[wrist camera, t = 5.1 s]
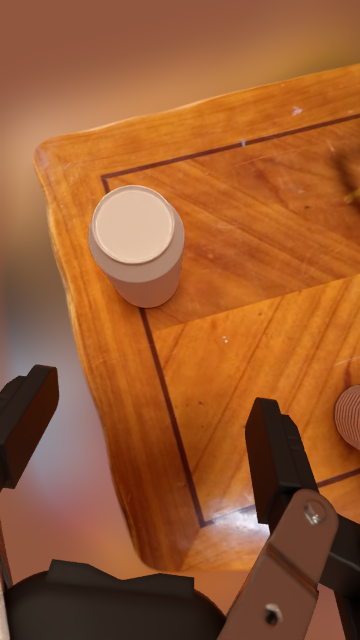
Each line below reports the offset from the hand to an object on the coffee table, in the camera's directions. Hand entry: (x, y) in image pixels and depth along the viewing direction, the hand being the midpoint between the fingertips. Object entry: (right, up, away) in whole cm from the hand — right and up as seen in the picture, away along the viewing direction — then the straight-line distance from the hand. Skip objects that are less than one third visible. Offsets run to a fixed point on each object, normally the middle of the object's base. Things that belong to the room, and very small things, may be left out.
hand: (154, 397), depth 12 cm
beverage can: (-2, +7, +18) cm, 19 cm away
